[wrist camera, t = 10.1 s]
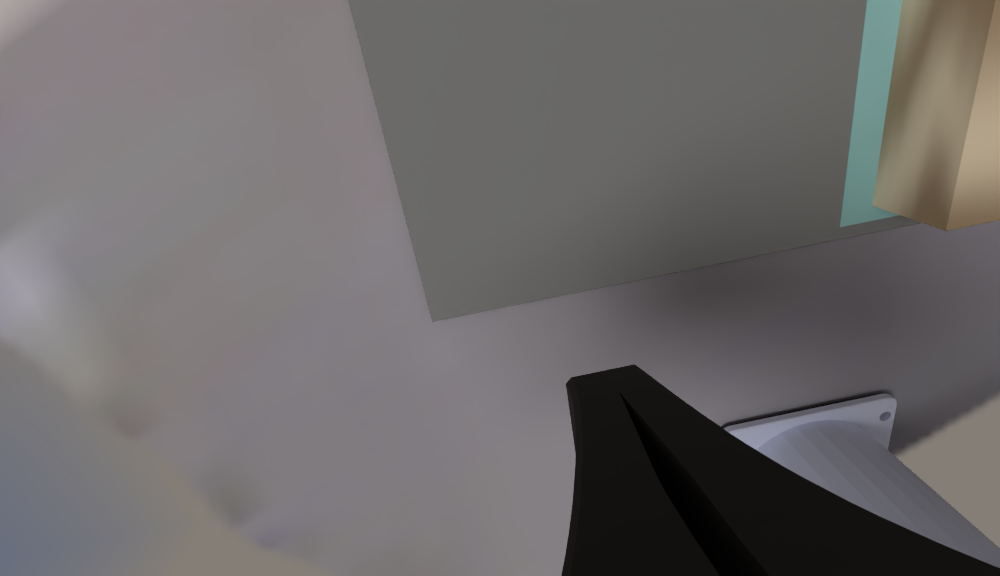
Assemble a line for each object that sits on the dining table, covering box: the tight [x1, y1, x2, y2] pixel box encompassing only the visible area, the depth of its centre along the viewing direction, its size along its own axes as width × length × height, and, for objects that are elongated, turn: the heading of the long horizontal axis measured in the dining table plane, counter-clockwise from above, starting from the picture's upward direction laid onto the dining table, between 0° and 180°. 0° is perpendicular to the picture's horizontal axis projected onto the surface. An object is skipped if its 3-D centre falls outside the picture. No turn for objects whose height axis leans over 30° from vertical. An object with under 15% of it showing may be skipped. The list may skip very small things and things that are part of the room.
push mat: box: [349, 0, 921, 322], centre depth 16 cm, size 14×30×1 cm, turn 100°
